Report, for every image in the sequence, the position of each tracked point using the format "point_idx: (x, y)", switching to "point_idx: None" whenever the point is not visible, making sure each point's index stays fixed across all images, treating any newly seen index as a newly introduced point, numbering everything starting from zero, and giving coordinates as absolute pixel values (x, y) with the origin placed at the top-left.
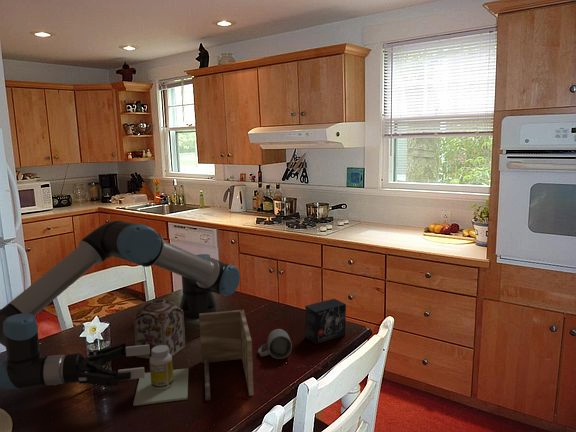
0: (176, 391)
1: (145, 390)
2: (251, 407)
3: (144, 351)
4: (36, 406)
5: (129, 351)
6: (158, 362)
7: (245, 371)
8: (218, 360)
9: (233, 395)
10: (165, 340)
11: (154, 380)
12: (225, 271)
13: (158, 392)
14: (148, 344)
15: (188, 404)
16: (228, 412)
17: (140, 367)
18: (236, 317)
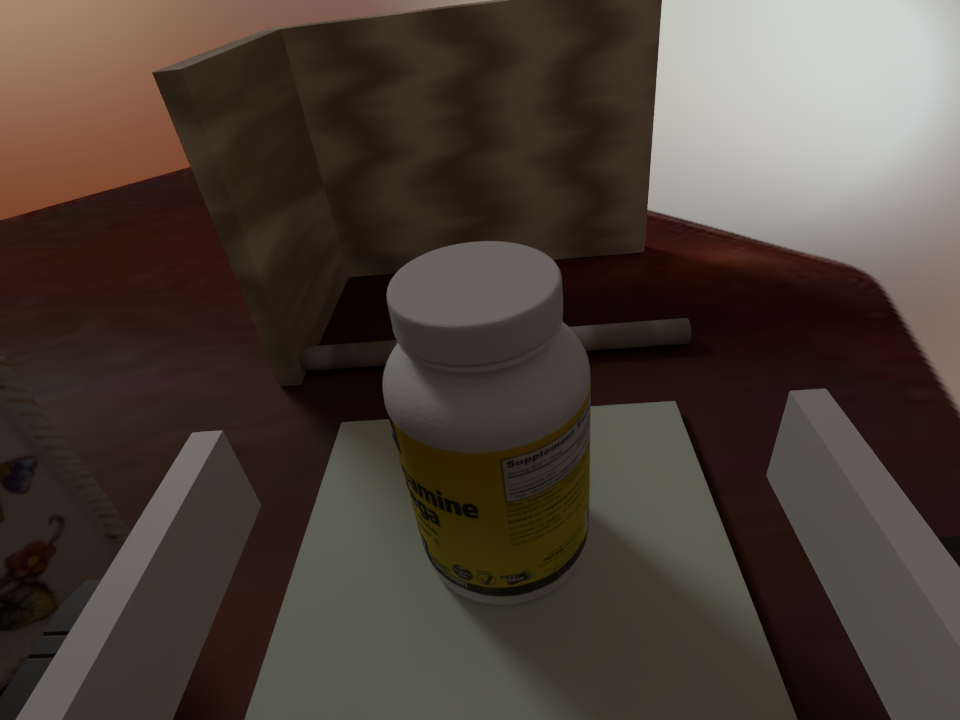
0: (606, 452)
1: (571, 654)
2: (723, 245)
3: (228, 523)
4: None
5: (126, 707)
6: (582, 359)
7: (509, 235)
8: (322, 329)
9: (638, 283)
10: (52, 426)
11: (574, 524)
12: None
13: (612, 550)
14: (191, 436)
15: (724, 403)
16: (770, 287)
17: (812, 419)
18: (284, 69)
